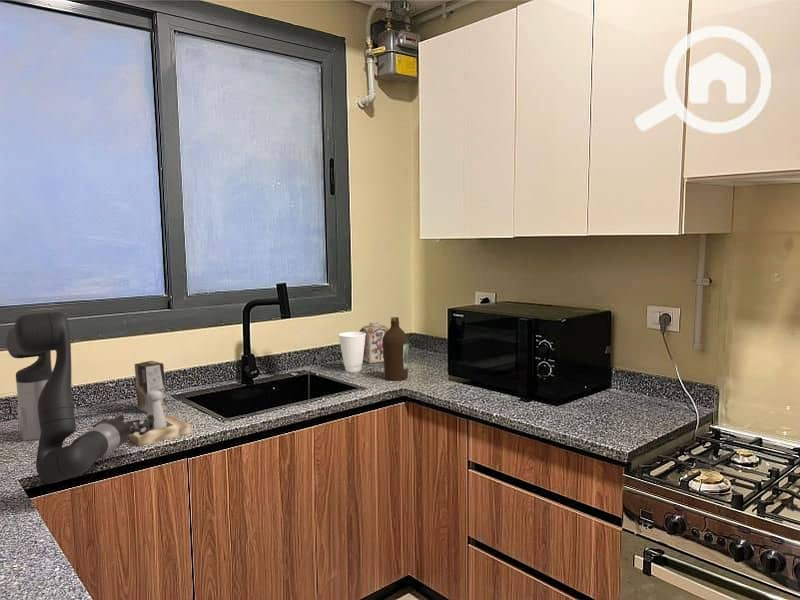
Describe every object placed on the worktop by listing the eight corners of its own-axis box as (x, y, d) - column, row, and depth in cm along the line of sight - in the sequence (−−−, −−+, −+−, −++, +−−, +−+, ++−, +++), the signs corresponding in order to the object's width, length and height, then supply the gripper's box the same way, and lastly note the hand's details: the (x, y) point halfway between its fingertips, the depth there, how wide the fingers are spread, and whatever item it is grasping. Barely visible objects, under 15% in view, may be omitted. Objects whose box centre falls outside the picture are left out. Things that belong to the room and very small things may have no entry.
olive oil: (380, 381, 230) (379, 319, 228) (386, 374, 241) (384, 315, 238) (406, 381, 228) (405, 319, 226) (411, 375, 239) (410, 315, 236)
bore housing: (138, 446, 162) (138, 437, 162) (122, 433, 173) (121, 425, 173) (191, 433, 172) (190, 425, 172) (172, 422, 183) (172, 414, 183)
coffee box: (167, 409, 198) (164, 363, 196) (148, 414, 193) (145, 366, 191) (155, 404, 204) (152, 360, 202) (137, 409, 199) (133, 363, 197)
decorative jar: (369, 363, 263) (368, 324, 261) (358, 359, 273) (357, 322, 271) (392, 360, 269) (391, 322, 267) (381, 356, 279) (380, 319, 277)
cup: (351, 366, 259) (350, 331, 258) (372, 369, 252) (371, 333, 251) (334, 371, 250) (332, 334, 248) (354, 374, 243) (353, 337, 241)
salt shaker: (161, 429, 177) (158, 387, 175) (170, 432, 173) (168, 390, 172) (142, 434, 172) (139, 391, 171) (152, 438, 169) (149, 394, 167)
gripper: (131, 423, 145) (161, 405, 161) (76, 423, 145) (111, 405, 162) (133, 452, 145) (163, 431, 162) (78, 452, 146) (113, 431, 162)
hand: (137, 418), depth 162 cm, fingers open, 8 cm apart
